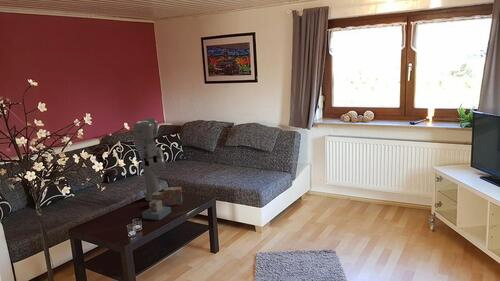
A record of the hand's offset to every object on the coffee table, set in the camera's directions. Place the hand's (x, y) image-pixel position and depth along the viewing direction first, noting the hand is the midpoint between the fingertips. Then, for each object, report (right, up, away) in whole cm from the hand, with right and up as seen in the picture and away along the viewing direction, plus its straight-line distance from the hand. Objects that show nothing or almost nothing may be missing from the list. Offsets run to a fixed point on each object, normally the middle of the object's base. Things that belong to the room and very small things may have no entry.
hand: (151, 164), depth 271 cm
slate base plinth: (+6, -35, -8) cm, 37 cm away
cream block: (+6, -31, -9) cm, 33 cm away
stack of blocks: (+9, -31, +13) cm, 35 cm away
